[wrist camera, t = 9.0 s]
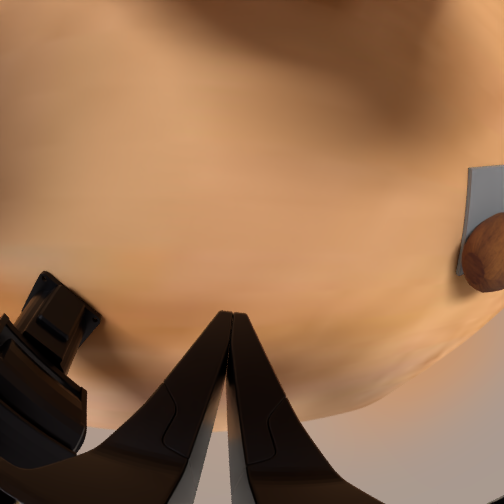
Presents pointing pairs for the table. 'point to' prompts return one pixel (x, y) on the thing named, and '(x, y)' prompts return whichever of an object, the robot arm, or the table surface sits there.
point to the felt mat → (481, 200)
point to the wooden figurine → (485, 255)
